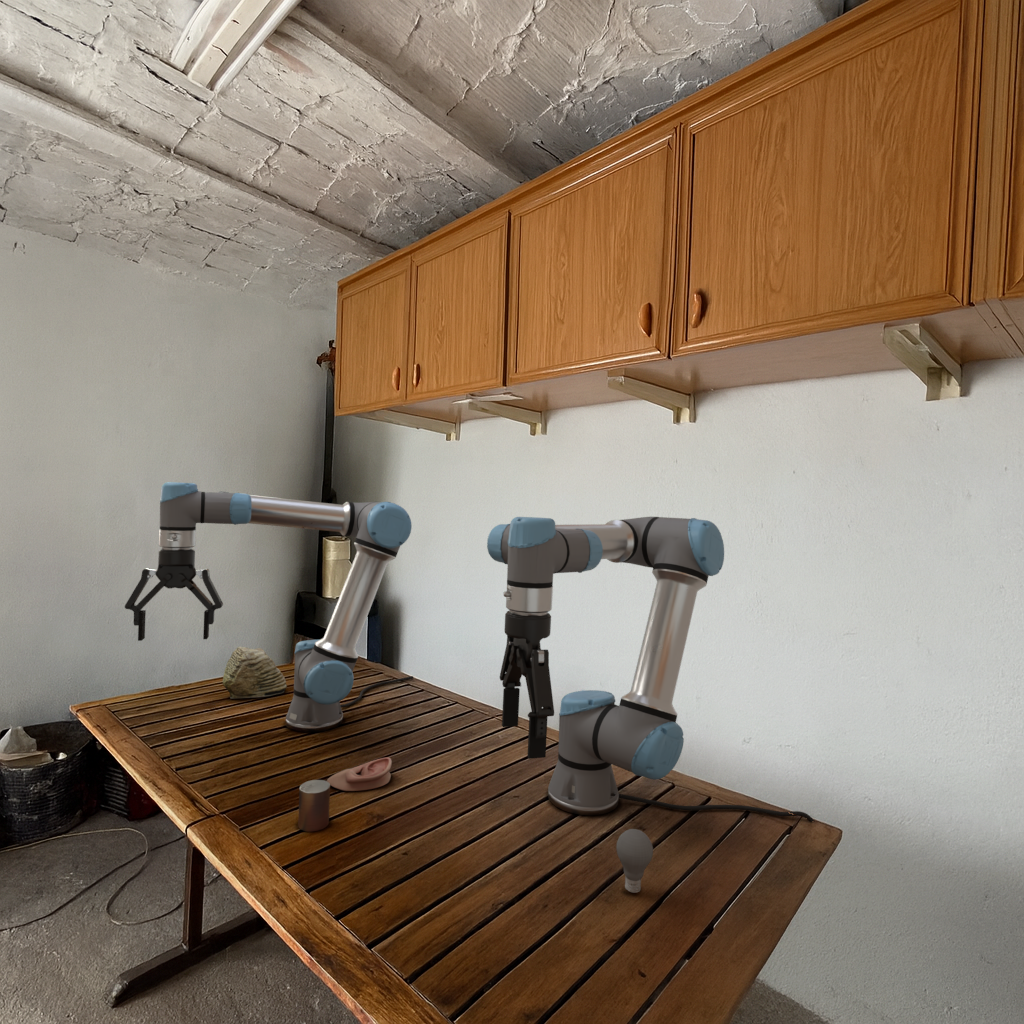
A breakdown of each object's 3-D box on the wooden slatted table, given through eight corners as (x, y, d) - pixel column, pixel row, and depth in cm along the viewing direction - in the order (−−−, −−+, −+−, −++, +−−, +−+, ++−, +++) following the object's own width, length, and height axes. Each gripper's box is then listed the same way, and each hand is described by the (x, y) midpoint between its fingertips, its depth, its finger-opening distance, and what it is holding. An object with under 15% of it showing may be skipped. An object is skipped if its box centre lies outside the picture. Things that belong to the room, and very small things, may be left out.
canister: (317, 834, 119) (318, 795, 119) (291, 828, 121) (293, 789, 121) (334, 820, 125) (336, 782, 124) (310, 814, 126) (311, 777, 126)
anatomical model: (320, 769, 137) (344, 749, 149) (319, 787, 138) (343, 766, 149) (377, 777, 135) (397, 756, 146) (376, 795, 135) (397, 773, 146)
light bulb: (610, 879, 108) (613, 822, 108) (644, 879, 109) (647, 822, 109) (619, 902, 102) (622, 840, 102) (655, 901, 103) (658, 840, 103)
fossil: (218, 695, 195) (220, 647, 195) (278, 685, 208) (279, 640, 207) (228, 703, 189) (230, 653, 188) (289, 692, 201) (290, 645, 201)
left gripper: (111, 548, 141) (108, 643, 141) (233, 550, 148) (229, 641, 148) (121, 545, 148) (118, 636, 148) (236, 547, 155) (233, 634, 155)
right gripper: (486, 599, 114) (480, 716, 114) (532, 627, 90) (525, 774, 91) (525, 599, 116) (520, 713, 117) (580, 626, 93) (573, 770, 93)
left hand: (174, 638), depth 148 cm, fingers open, 13 cm apart
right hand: (522, 740), depth 104 cm, fingers open, 13 cm apart
